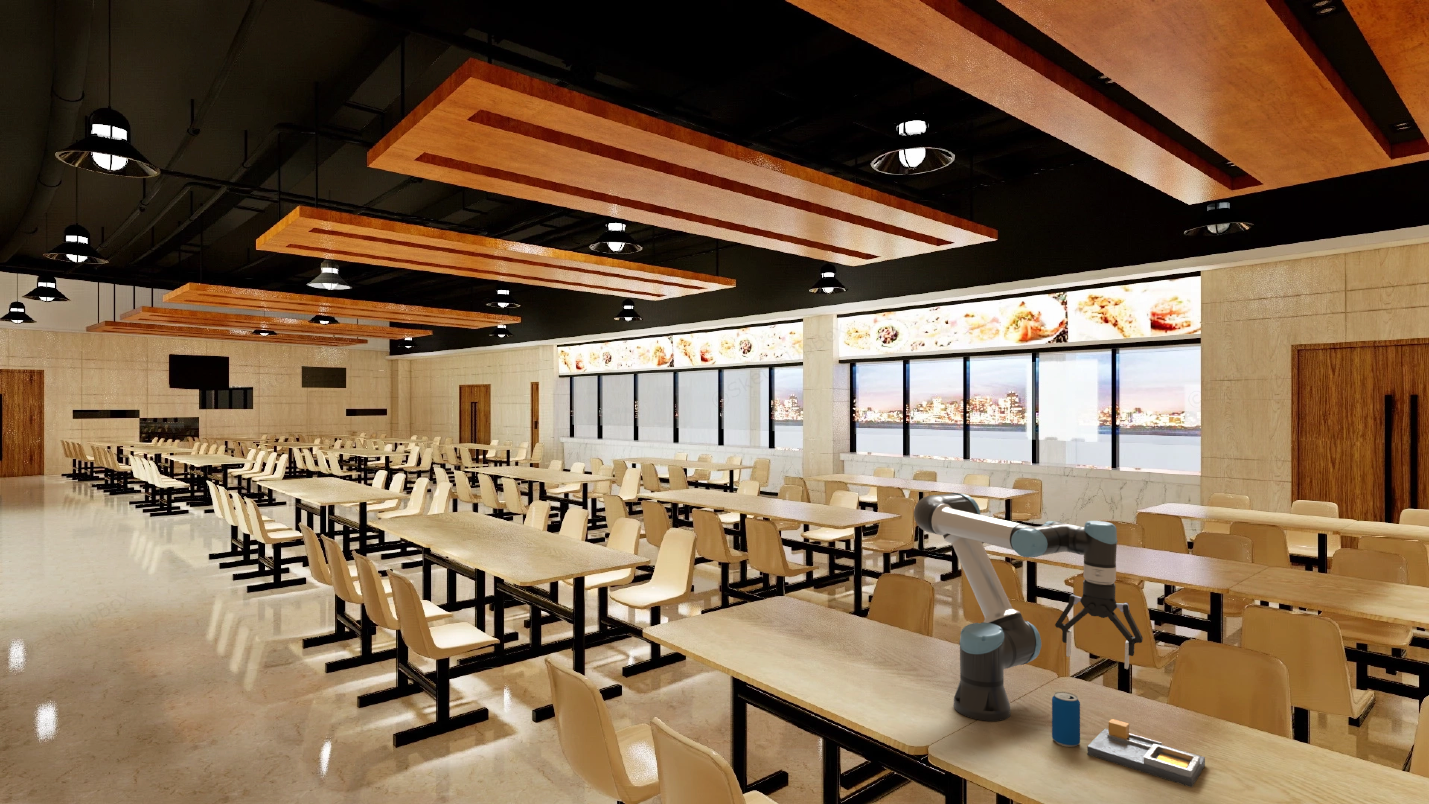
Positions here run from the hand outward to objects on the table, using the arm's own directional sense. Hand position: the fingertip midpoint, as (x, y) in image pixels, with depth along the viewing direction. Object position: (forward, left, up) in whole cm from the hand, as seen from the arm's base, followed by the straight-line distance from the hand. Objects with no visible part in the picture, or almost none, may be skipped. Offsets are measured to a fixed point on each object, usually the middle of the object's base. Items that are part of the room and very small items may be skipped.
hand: (1097, 661), depth 188 cm
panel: (+13, -6, -19) cm, 24 cm away
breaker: (+6, -2, -17) cm, 18 cm away
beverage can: (-4, -10, -20) cm, 23 cm away
